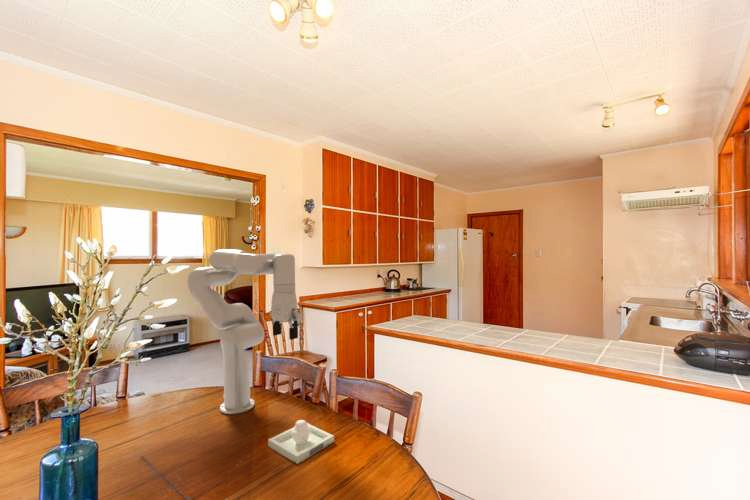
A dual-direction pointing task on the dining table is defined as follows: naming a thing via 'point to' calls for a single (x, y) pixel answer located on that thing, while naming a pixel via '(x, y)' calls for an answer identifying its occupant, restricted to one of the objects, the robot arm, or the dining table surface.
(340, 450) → the dining table surface
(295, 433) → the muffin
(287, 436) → the tray
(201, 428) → the dining table surface
